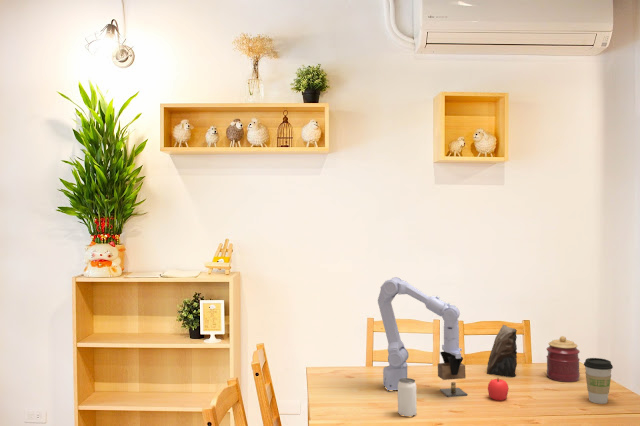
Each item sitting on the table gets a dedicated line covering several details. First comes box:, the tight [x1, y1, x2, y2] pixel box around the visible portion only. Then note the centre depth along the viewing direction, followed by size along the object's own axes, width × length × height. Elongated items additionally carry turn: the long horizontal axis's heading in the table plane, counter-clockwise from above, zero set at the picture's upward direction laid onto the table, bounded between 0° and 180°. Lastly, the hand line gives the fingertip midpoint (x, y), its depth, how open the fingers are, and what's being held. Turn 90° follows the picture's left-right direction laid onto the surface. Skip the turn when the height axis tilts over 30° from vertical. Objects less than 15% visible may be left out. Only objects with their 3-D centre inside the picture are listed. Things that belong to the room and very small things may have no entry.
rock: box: [486, 324, 518, 378], centre depth 257 cm, size 13×13×20 cm
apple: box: [487, 377, 510, 402], centre depth 224 cm, size 8×8×8 cm
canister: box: [546, 335, 581, 383], centre depth 250 cm, size 13×13×18 cm
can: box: [397, 377, 417, 417], centre depth 208 cm, size 6×6×12 cm
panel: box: [439, 381, 468, 398], centre depth 231 cm, size 8×8×4 cm
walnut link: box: [437, 362, 466, 381], centre depth 230 cm, size 9×6×5 cm, turn 100°
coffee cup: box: [583, 357, 614, 405], centre depth 220 cm, size 10×10×15 cm
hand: (451, 372), depth 230 cm, fingers closed on walnut link, 6 cm apart
